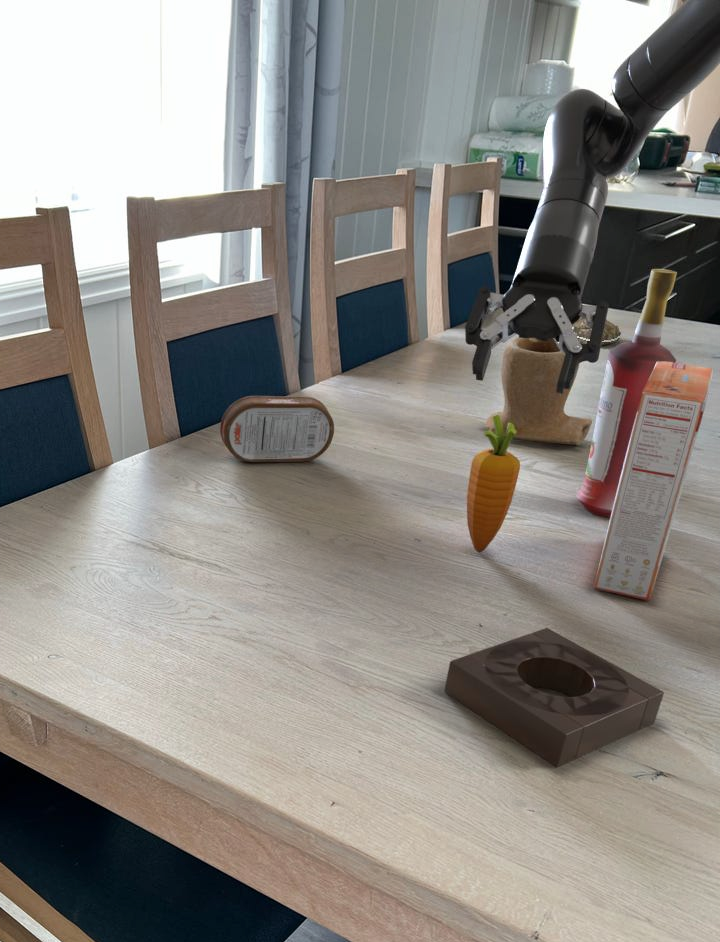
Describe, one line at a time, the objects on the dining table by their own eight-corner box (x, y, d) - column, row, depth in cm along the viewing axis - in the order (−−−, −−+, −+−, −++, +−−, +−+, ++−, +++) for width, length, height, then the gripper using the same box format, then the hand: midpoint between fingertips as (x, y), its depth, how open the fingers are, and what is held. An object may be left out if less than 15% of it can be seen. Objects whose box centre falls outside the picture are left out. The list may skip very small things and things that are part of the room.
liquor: (567, 496, 124) (622, 263, 110) (625, 501, 124) (688, 268, 110) (578, 517, 118) (638, 273, 104) (640, 523, 117) (708, 279, 103)
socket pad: (539, 656, 87) (547, 627, 86) (654, 723, 79) (664, 692, 77) (443, 691, 81) (449, 660, 80) (557, 767, 73) (565, 735, 71)
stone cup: (479, 444, 141) (499, 338, 133) (486, 421, 151) (505, 322, 143) (588, 460, 137) (614, 352, 130) (588, 436, 147) (612, 334, 140)
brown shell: (627, 341, 209) (633, 317, 207) (601, 349, 201) (607, 324, 199) (572, 330, 217) (577, 307, 214) (545, 336, 209) (550, 312, 206)
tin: (326, 455, 132) (333, 394, 128) (333, 463, 130) (340, 401, 125) (218, 457, 129) (221, 394, 125) (222, 465, 126) (226, 401, 122)
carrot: (503, 564, 104) (531, 428, 97) (456, 558, 105) (481, 422, 98) (500, 545, 109) (527, 414, 101) (455, 540, 109) (479, 409, 102)
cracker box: (607, 542, 111) (655, 358, 101) (662, 554, 109) (718, 367, 99) (588, 589, 100) (640, 387, 90) (649, 603, 98) (710, 398, 88)
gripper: (491, 225, 106) (451, 352, 102) (628, 239, 101) (591, 373, 98) (491, 270, 113) (454, 391, 109) (619, 285, 108) (584, 412, 105)
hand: (519, 382), depth 103 cm, fingers open, 8 cm apart
